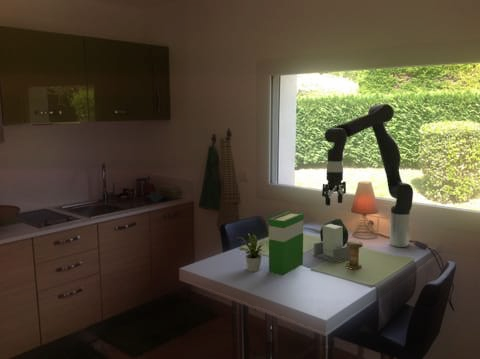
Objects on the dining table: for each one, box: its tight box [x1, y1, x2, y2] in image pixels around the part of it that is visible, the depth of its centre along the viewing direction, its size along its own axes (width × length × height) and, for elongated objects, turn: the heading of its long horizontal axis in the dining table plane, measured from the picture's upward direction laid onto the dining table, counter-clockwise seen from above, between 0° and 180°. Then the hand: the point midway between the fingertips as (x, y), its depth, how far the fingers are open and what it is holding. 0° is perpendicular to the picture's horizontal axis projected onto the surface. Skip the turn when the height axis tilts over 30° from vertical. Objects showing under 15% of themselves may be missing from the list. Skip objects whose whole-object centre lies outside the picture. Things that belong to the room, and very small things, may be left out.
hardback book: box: [268, 210, 304, 277], centre depth 192 cm, size 18×7×24 cm, turn 144°
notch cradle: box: [313, 240, 350, 264], centre depth 208 cm, size 12×14×6 cm
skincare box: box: [322, 224, 344, 258], centre depth 207 cm, size 8×6×15 cm
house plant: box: [238, 233, 266, 272], centre depth 192 cm, size 14×14×16 cm
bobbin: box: [345, 240, 364, 270], centre depth 194 cm, size 7×7×11 cm
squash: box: [319, 218, 349, 246], centre depth 226 cm, size 14×15×15 cm
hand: (333, 204), depth 205 cm, fingers open, 8 cm apart
